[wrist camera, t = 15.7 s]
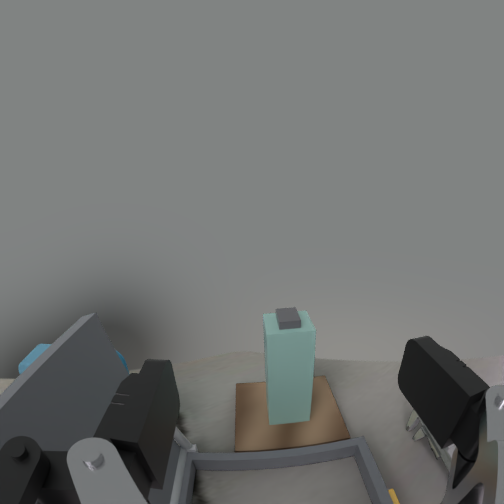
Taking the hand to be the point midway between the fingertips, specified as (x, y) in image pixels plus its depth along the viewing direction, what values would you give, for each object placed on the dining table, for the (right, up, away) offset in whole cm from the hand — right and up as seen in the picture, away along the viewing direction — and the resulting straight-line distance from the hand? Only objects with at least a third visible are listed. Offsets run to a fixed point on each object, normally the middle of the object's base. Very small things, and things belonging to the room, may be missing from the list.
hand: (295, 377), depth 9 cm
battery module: (+3, -14, +21) cm, 26 cm away
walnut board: (+3, -15, +21) cm, 26 cm away
